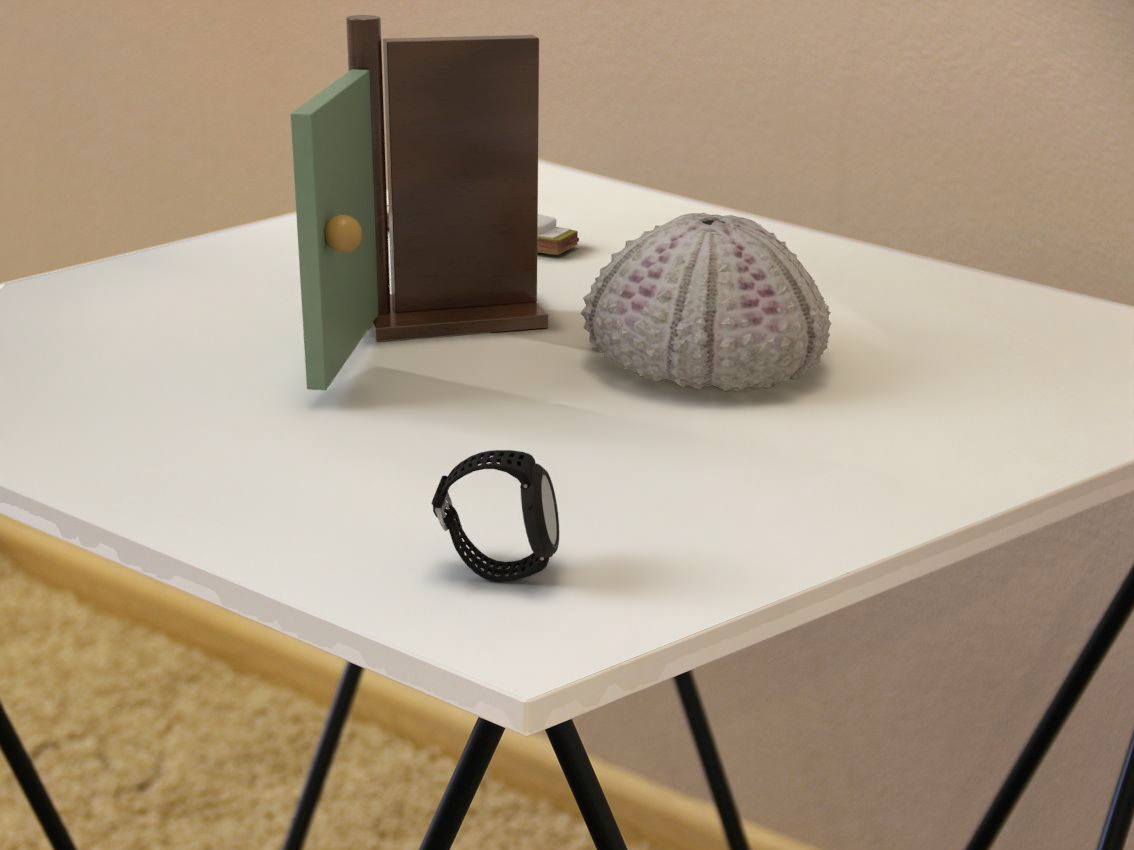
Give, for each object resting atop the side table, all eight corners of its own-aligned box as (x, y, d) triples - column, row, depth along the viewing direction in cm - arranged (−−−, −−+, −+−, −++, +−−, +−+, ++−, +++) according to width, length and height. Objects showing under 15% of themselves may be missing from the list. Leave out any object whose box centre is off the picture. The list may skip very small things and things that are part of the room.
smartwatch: (534, 607, 58) (535, 487, 56) (419, 576, 60) (416, 459, 58) (583, 563, 61) (585, 449, 59) (473, 535, 63) (471, 423, 61)
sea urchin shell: (657, 309, 91) (663, 176, 88) (869, 354, 85) (884, 212, 81) (534, 373, 81) (536, 225, 77) (765, 429, 75) (777, 271, 71)
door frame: (369, 342, 85) (356, 25, 77) (350, 309, 90) (336, 9, 83) (548, 327, 88) (552, 21, 80) (520, 297, 93) (521, 6, 86)
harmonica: (579, 247, 103) (579, 218, 102) (558, 258, 100) (558, 229, 100) (395, 218, 109) (395, 190, 108) (371, 228, 106) (370, 200, 105)
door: (360, 392, 75) (348, 115, 69) (306, 389, 75) (289, 113, 70) (408, 316, 86) (401, 71, 80) (361, 314, 86) (350, 69, 80)
